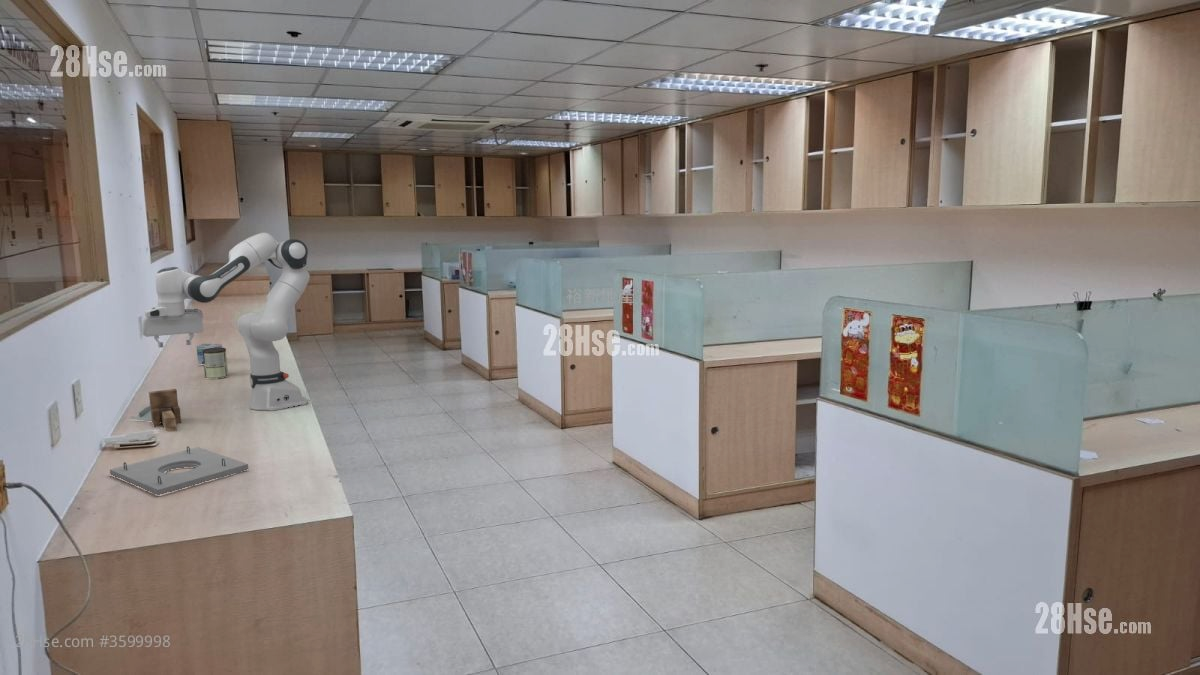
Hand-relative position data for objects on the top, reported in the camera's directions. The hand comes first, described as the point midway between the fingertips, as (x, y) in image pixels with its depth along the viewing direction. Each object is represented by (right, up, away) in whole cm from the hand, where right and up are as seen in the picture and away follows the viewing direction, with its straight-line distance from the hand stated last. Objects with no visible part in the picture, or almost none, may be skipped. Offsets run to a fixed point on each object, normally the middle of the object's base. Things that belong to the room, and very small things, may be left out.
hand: (175, 346), depth 286 cm
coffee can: (-25, -17, +80) cm, 85 cm away
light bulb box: (-44, -11, +111) cm, 120 cm away
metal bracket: (-12, -29, +8) cm, 32 cm away
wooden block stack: (-3, -30, 0) cm, 30 cm away
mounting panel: (+33, -40, -56) cm, 76 cm away
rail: (+1, -31, -6) cm, 31 cm away
